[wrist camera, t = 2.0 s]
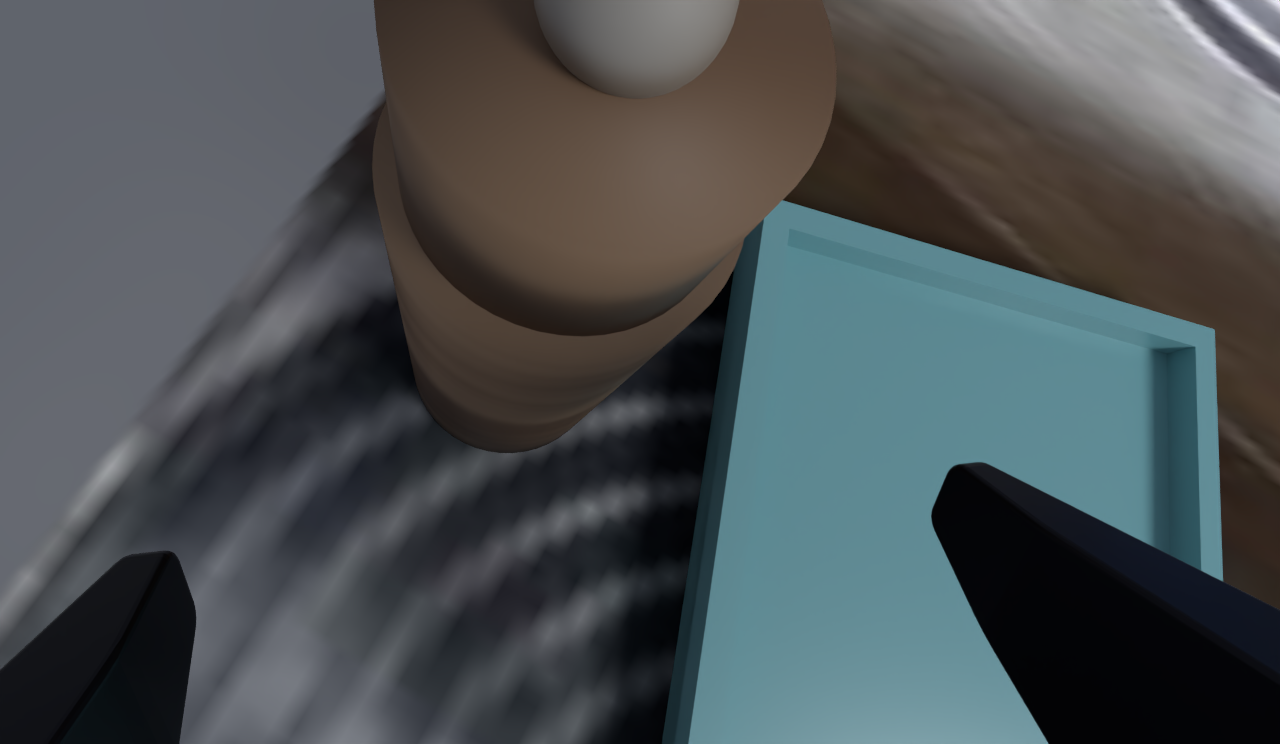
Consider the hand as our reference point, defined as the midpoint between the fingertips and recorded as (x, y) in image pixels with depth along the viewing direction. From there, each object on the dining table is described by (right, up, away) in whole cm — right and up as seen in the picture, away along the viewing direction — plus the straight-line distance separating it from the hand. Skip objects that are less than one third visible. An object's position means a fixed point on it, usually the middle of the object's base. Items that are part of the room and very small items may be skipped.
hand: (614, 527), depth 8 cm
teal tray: (+10, -4, +13) cm, 17 cm away
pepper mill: (-3, +2, +12) cm, 12 cm away
